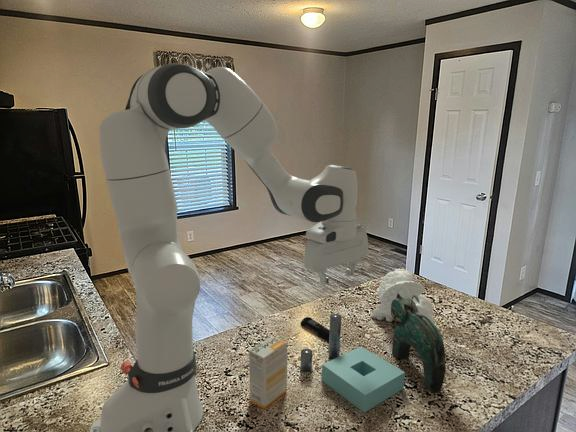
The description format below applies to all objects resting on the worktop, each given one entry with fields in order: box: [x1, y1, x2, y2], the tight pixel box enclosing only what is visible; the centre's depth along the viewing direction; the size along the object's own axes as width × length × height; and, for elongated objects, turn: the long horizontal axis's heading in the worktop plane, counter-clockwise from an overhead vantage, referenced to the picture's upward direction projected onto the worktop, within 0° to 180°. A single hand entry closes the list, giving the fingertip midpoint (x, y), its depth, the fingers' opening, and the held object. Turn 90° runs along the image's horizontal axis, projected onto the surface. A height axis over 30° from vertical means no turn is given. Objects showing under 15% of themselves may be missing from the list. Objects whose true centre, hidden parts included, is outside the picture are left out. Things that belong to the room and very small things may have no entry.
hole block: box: [321, 346, 406, 413], centre depth 95 cm, size 14×14×4 cm
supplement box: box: [248, 335, 288, 410], centre depth 90 cm, size 8×5×13 cm, turn 141°
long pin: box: [328, 313, 342, 360], centre depth 106 cm, size 3×3×12 cm
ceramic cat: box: [391, 294, 447, 393], centre depth 100 cm, size 20×6×20 cm, turn 15°
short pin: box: [300, 347, 313, 373], centre depth 101 cm, size 3×3×5 cm
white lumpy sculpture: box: [370, 267, 435, 324], centre depth 128 cm, size 19×20×20 cm
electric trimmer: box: [300, 316, 330, 341], centre depth 119 cm, size 4×16×3 cm, turn 37°
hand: (337, 279), depth 103 cm, fingers open, 8 cm apart
